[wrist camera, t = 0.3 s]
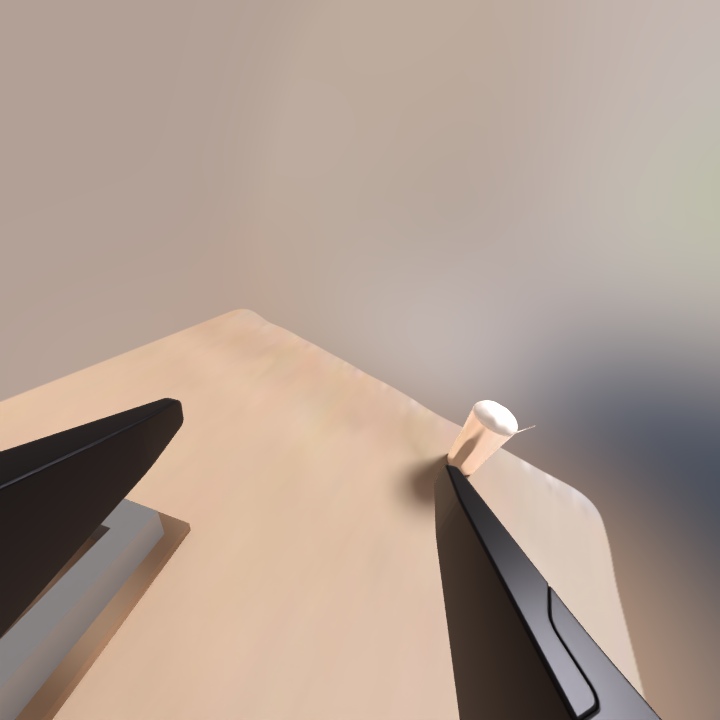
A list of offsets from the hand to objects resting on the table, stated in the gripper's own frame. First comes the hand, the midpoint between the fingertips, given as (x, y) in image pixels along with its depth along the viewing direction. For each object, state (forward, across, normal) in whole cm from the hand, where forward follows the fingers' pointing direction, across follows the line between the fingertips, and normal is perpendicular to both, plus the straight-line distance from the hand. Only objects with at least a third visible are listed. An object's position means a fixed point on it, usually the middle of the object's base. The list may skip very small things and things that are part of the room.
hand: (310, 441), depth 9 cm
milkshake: (+17, -16, +16) cm, 28 cm away
